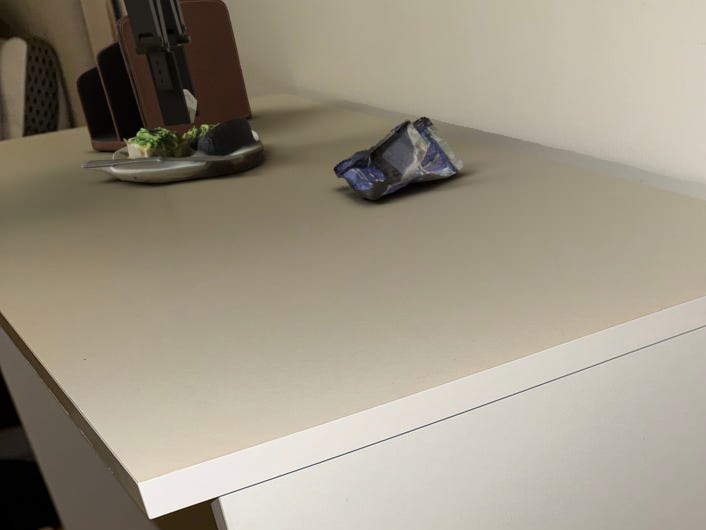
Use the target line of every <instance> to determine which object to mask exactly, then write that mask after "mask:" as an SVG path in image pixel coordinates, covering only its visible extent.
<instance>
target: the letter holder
mask: <svg viewBox="0 0 706 530" xmlns="http://www.w3.org/2000/svg"><path fill="white" fill-rule="evenodd" d="M179 1H180V6H181V10H182V15H183V19H184V24H185V26H186V34H185V35H190V38H191V43H186V44H180V45H184V48H185V52H186V56H187V60H188V64H189V69H190V73H191V77H192V81H193V85H194V89H195V94H196V98H197V102H198V106H199V110H200V114H201V115H199V116H195V118H194V123H190V124H185V125H173V126H165V125H164V122H163V118H162V114H161V110H160V106H159V103H158V99H157V95H156V91H155V87H154V84H153V80H152V76H151V72H150V68H149V65H148V61H147V57H146V54H144V55H137V53H136V51H135V47H136V44H135V40H134V36H133V33H132V29H131V26H130V22H129V18H128V15H127V14H126V15H124V16H122V17H121V18H119V19H118V20H117V22H116V25H115V33H116V38H117V40H115V41H113V42H111V43H109V44H108V45H106V46H104V47H103V48H101V49H99V50H98V51H97V53H96V55H95V63H96V65H93V66H91V67H90V68H87V69H86V70H84V71H82V72H80V74H79V75H77V77H76V79H75V82H74V84H75V90H76V93H77V97H78V100H79V101H78V102H79V105H80V107H81V111H82V114H83V117H84V122H85V124H86V128H87V129H86V130H87V132H88V135H89V139H90V144H91V147H92V149H93V150H94V151H96V152H105V151H106V152H116V151H118V150H120V149H122V148H125V147H127V144H126V142H125V141H124V139H123V138H125V139H126V140H127V141H129V139H131V138H134V137H136V136H137V133H138V132H139V131H140V130H141V128H144V129H146V130H147V129H156V128H159V127H161V128H164V129H167V130H169V131H173V132H175V131H176V132H178V133H179V134H180V136H183V135H184V134H185V133H188V132H189V130H190V129H193V128H194V126H195V127H196V128H197V129H200V127H201V125H205V124H206V125H217V124H218V123H222V122H225V121H228V120H231V119H234V118H246V119H247V120H248V119H251V118H252V116H253V114H252V107H251V105H250V101H249V96H248V92H247V87H246V82H245V79H244V75H243V69H242V65H241V60H240V56H239V51H238V47H237V41H236V38H235V37H236V36H235V33H234V29H233V25H232V21H231V16H230V12H229V9H228V6H227V5H226V3H225V2H224V1H223V0H179Z"/></svg>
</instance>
